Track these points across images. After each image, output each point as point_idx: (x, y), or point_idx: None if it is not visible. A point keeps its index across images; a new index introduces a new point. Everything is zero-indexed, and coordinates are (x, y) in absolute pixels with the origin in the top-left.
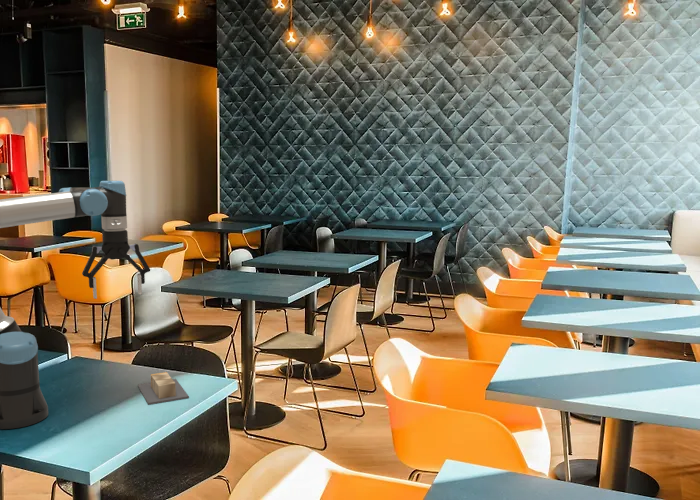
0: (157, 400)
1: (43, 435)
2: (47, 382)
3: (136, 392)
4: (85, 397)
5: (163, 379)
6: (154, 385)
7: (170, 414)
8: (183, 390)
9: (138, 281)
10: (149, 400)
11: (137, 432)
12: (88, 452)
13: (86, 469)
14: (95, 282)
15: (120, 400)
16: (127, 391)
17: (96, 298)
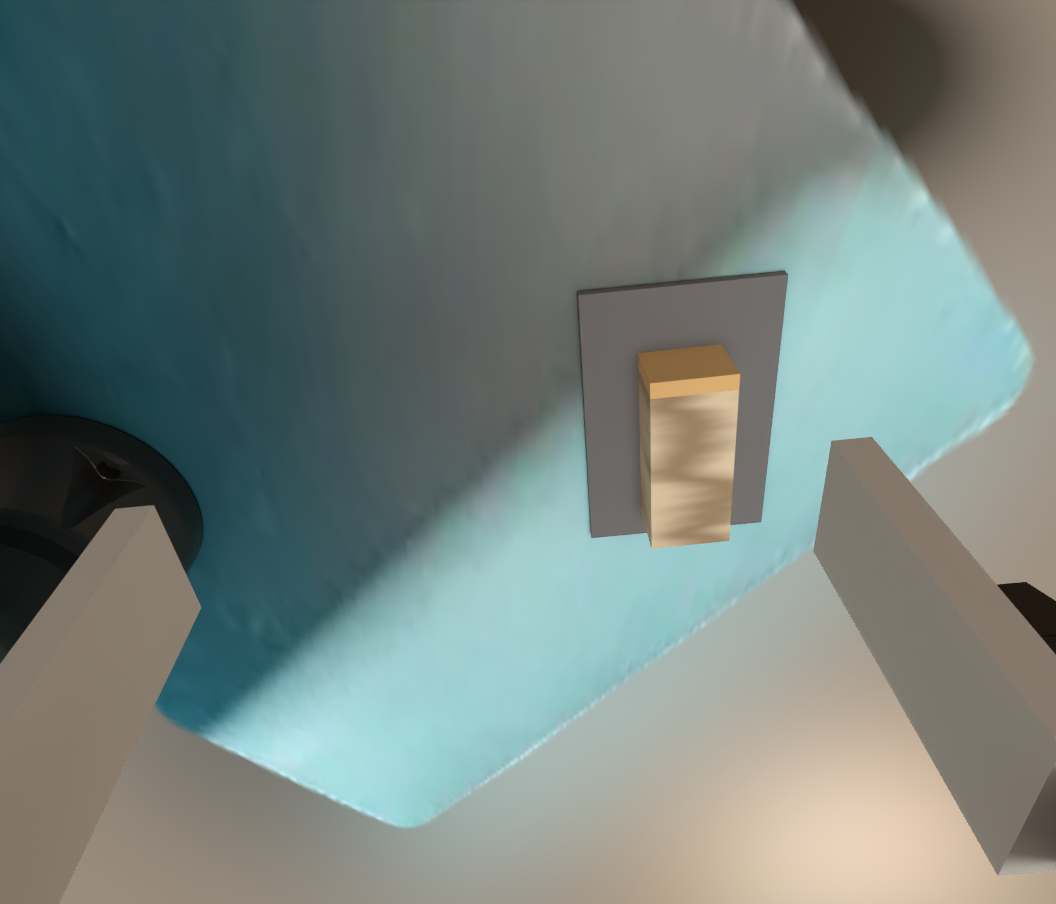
0: (631, 525)
1: (241, 657)
2: None
3: (560, 378)
4: (319, 362)
5: (693, 478)
6: (645, 450)
7: (650, 628)
8: (763, 454)
9: (924, 687)
10: (600, 515)
11: (529, 709)
12: (397, 769)
13: (401, 826)
14: (72, 854)
15: (483, 451)
16: (519, 349)
17: (195, 609)
